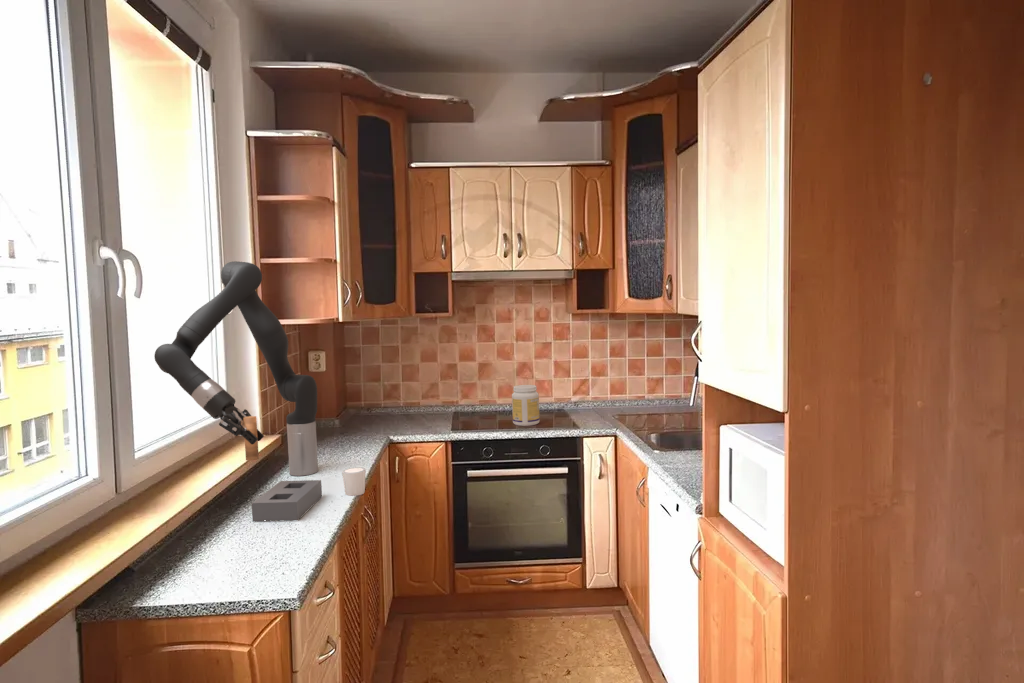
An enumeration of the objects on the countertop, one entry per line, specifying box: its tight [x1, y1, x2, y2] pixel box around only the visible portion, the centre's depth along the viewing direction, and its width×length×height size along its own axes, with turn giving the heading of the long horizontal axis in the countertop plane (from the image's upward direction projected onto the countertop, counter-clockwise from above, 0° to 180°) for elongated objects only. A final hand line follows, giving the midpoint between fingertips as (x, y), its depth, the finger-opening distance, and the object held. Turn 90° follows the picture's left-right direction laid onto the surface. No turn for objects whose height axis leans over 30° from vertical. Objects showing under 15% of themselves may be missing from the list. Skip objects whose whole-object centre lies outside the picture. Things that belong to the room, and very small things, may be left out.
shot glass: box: [341, 466, 367, 497], centre depth 190 cm, size 7×7×7 cm
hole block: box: [251, 479, 323, 522], centre depth 178 cm, size 20×12×5 cm, turn 179°
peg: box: [243, 415, 260, 462], centre depth 180 cm, size 3×3×12 cm
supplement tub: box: [511, 384, 540, 427], centre depth 285 cm, size 12×12×17 cm
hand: (258, 440), depth 180 cm, fingers closed on peg, 3 cm apart
